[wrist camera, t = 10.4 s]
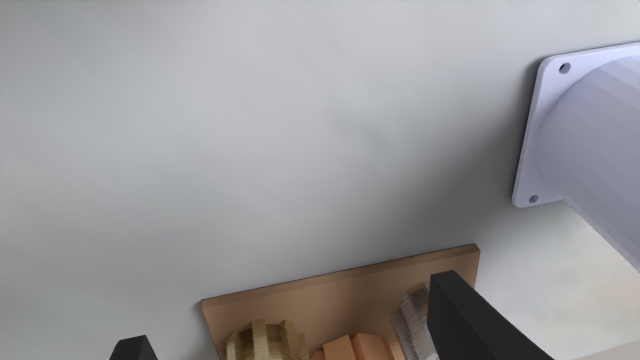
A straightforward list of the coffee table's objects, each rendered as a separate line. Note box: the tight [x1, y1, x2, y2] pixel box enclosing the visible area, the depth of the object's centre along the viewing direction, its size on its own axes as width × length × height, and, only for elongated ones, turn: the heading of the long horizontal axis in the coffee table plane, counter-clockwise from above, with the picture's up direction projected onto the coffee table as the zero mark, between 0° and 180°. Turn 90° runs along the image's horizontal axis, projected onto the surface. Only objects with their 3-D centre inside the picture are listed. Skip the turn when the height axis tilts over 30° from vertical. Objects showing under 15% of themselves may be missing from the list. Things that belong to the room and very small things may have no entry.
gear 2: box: [389, 281, 439, 360], centre depth 25 cm, size 5×5×4 cm
